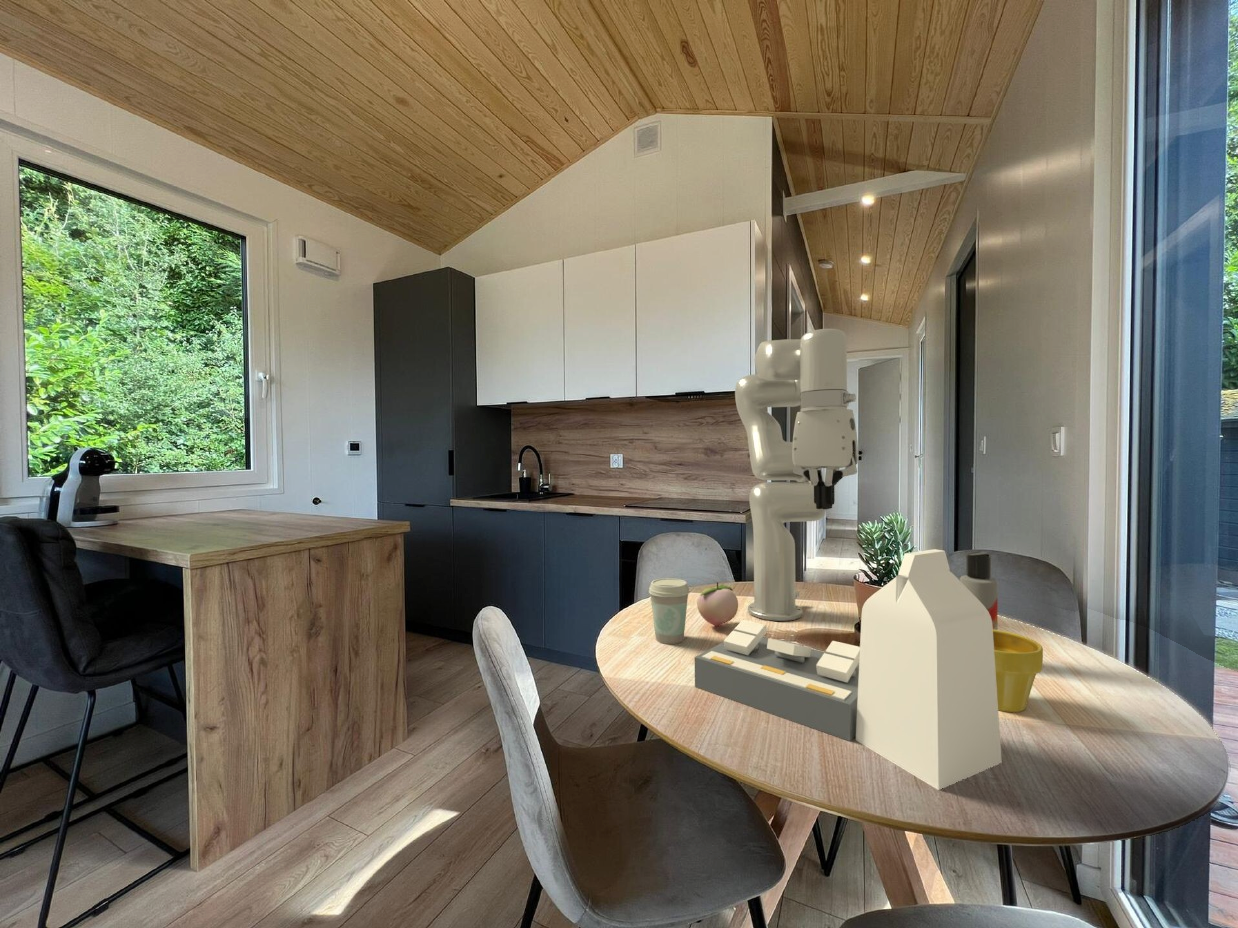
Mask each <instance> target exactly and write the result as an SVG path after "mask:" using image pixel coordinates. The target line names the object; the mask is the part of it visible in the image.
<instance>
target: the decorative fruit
mask: <svg viewBox="0 0 1238 928" xmlns="http://www.w3.org/2000/svg"><path fill="white" fill-rule="evenodd" d="M696 606H697V610H698V612H699V614H700V616H701V617H702V618H703V619H704V620H705V621H706V622H707V623H709V624H710V625H712V626H714V627H717V628H719V627H720V626H722V625H723V624H726V623H728V622H730V621H731V620H732V619H734V618H735V616H737V613H738V609H739V600H738V597H737V596H736V594H735V593H734V592H733V588H731V586H728V585H723V584H720V585H719V582H718V581H717V582H716V586H715V587H714V586H712V587H710V586H709V587H706V588H704V589H703V590H702V591H701V593H700V594H699V596H698V598H697V601H696Z"/></svg>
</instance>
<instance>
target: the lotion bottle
mask: <svg viewBox="0 0 1238 928" xmlns="http://www.w3.org/2000/svg"><path fill="white" fill-rule="evenodd" d="M965 571H966V573H965V575H961V576H960V578H959V580H960V581H961V582H962V583H963V584H964V586H965V587H966V588H967V589H968V590H969V591H970V592H971V593H972V594H973V595H974V596H975V597H976V598H977V599H978V600H979V601H980V602H981V603H982V604H983V605H984V606H985V608H986V609H987V611H988V612H989V614H990V616H991V619H992V626H993V630H999V628H998V617H999V616H998V612H999V610H998V606H999V605H998V600H999V599H998V593H999V591H998V590H999V589H998V580H997V579H995V578H993V577H992V556H991V555H990V554H989V552H980V551H979V552H977V551H975V552H974V551H973V552H969V553H967V554H965Z"/></svg>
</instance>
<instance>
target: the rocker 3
mask: <svg viewBox="0 0 1238 928" xmlns="http://www.w3.org/2000/svg"><path fill="white" fill-rule="evenodd" d="M823 652H824V654H823V656H822V657H821V659H820V660H819V661H818V663H817V664H816V668H817V674H818V675H822V676H825V677H829V678H832V679H836V680H839V681H843V682H848V681H849V679H850V677H851V675H852V674H853V672H854V670H855V668H856V667H857V665H858V663H859V659H860V646H858V645H853V644H849V643H845V642H839V641H836V640H832V641H831V642H830V644H829V645H828V647H827V648H826V650H825V651H823Z"/></svg>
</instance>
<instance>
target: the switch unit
mask: <svg viewBox="0 0 1238 928" xmlns="http://www.w3.org/2000/svg"><path fill="white" fill-rule="evenodd" d="M768 638H769V637H765V636H764V637H763V638H762V639H761V640H760V641H759V643H758V644H757V645H756V646H755V648H754V649H753V650H752V651H751V652H750V654H749V655H745V654H741V653H738V652H734V651H730V650H727V649H725V646H724V641H722V642H721V643H720V642H719V643H718V644H717V645H714V646H713V647H711V648H709V649H707V650H705V651H703V652H702V653H700V654H698V655H696V656H694V687H695V688H696V689H697V688H698V689H700V690H702V691H706V692H709V693H712V694H714V695H717V696H720V697H723V698H726V699H729V700H732V701H735V702H736V703H740V704H743V705H745V706H749V707H751V708H754V709H756V710H760V711H763V712H765V713H768V714H771V715H773V716H777V717H780V718H782V719H786V720H787V721H791V722H794V723H797V724H799V725H802V726H805V727H808V728H811V729H813V730H817V731H820V732H822V733H825V734H828V735H831V736H834V737H837V738H840V739H842V740H845V741H848V742H851V740H852V739H853V738H855V737H856V723H857V702H858V680H859V663H858V665H857V667H856V668H855V670H854V672H853V674H852V675H851V677H850V679H849V681H848V682H843V681H839V680H836V679H832V678H829V677H825V676H822V675H818V674H817V668H816V664H817V663H818V661H819V660H820V659H821V657H822V656H823V654H824V652H825V651H822V650H818V649H814V648H811V656H810V657H803V656H794V655H790V654H786V653H782V652H778V651H774V650H771V649H767V644H768ZM769 639H771V638H769Z"/></svg>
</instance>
